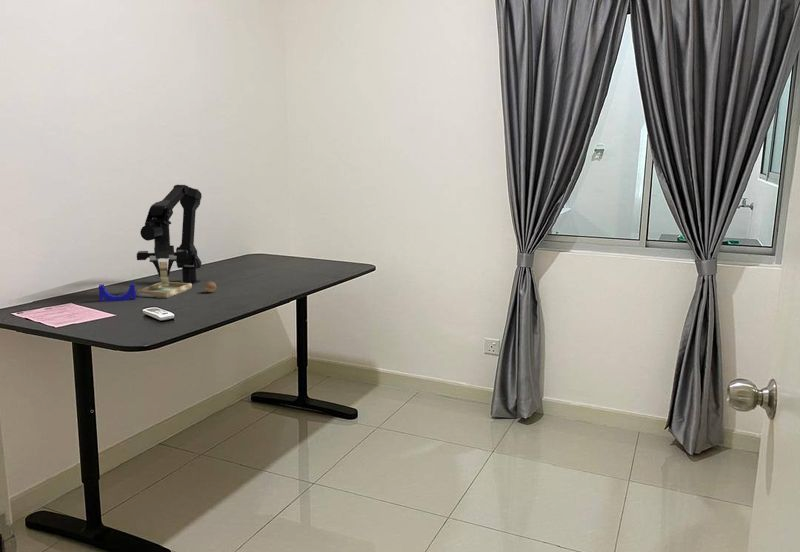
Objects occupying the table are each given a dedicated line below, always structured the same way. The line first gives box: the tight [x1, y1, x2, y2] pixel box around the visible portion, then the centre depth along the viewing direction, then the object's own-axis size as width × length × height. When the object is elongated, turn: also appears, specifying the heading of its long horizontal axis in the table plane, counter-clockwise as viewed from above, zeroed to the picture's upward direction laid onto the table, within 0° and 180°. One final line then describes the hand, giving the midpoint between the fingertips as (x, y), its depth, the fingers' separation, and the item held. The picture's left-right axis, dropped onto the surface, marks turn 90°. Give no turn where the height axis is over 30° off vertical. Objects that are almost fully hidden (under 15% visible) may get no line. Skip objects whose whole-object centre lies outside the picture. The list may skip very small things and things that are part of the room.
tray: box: [135, 281, 193, 299], centre depth 252 cm, size 18×13×2 cm
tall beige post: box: [159, 261, 169, 286], centre depth 252 cm, size 3×3×13 cm
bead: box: [204, 281, 217, 294], centre depth 254 cm, size 4×4×4 cm
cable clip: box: [98, 282, 137, 303], centre depth 239 cm, size 12×4×6 cm, turn 110°
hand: (164, 276), depth 251 cm, fingers closed on tall beige post, 3 cm apart
